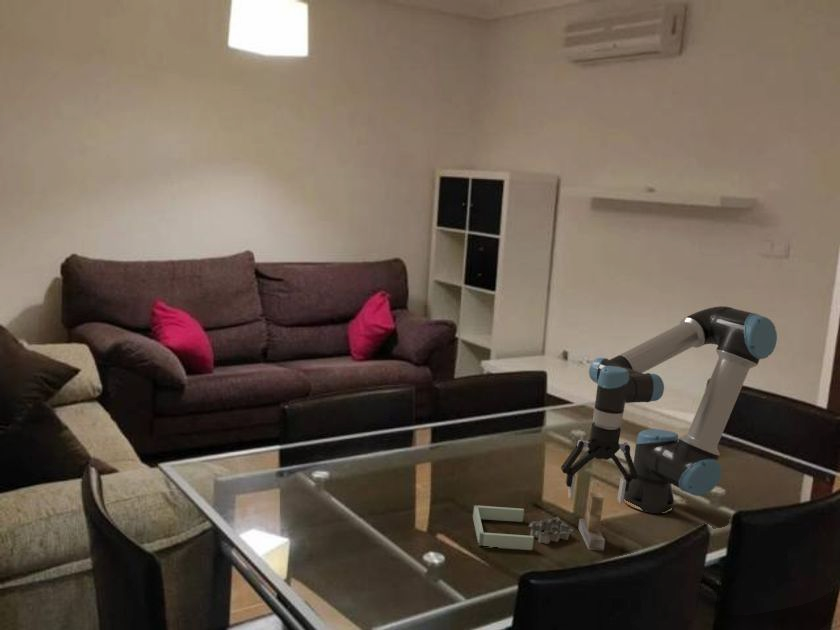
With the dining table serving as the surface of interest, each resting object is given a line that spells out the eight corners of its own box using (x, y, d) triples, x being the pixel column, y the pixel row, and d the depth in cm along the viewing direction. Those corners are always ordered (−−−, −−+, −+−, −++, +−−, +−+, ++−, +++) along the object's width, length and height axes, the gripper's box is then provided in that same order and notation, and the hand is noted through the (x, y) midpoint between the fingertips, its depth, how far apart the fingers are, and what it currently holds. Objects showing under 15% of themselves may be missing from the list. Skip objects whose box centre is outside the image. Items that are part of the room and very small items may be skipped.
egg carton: (541, 546, 206) (543, 532, 205) (525, 533, 212) (527, 519, 211) (573, 540, 211) (575, 526, 210) (557, 527, 217) (558, 514, 216)
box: (522, 520, 219) (523, 508, 218) (532, 550, 203) (533, 537, 202) (472, 516, 219) (474, 505, 218) (478, 546, 202) (480, 534, 201)
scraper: (592, 529, 218) (598, 486, 215) (603, 550, 206) (610, 505, 203) (578, 528, 217) (584, 485, 215) (588, 549, 206) (594, 504, 203)
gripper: (648, 424, 209) (636, 497, 213) (557, 416, 208) (546, 490, 212) (657, 433, 202) (644, 509, 206) (562, 425, 201) (552, 501, 205)
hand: (595, 500), depth 209 cm, fingers open, 13 cm apart
